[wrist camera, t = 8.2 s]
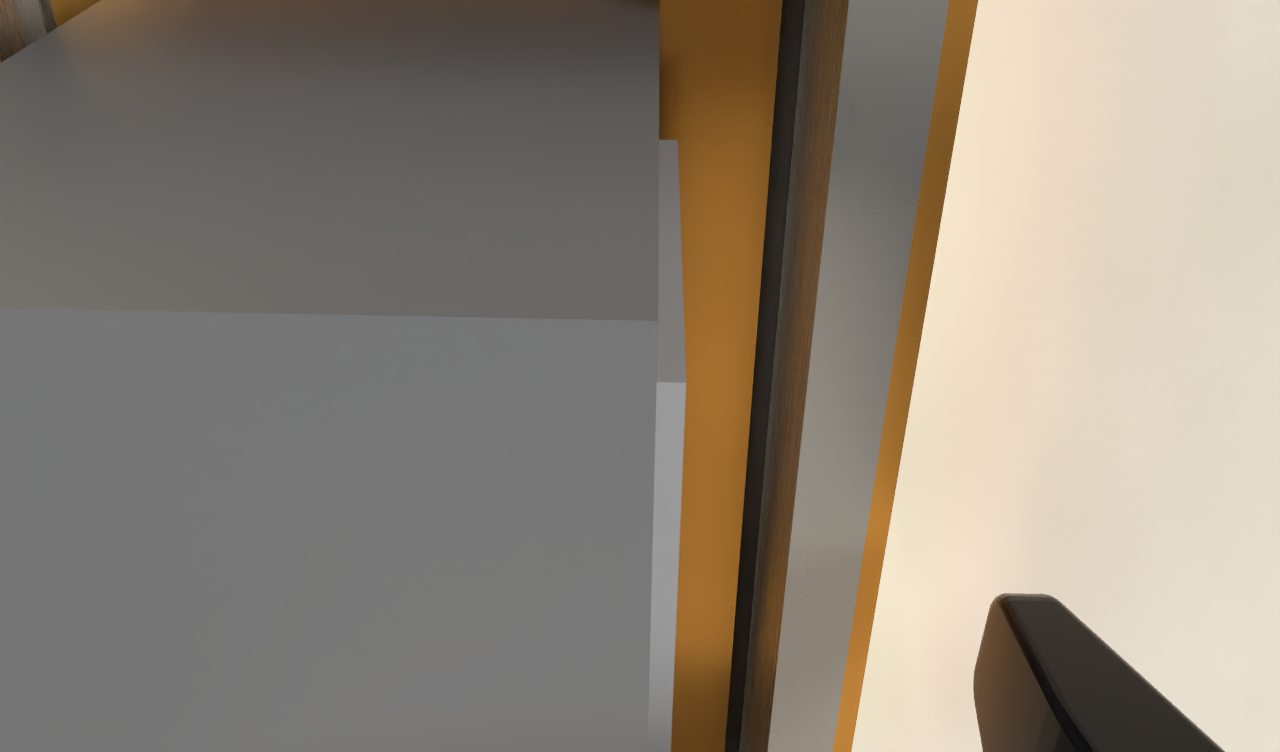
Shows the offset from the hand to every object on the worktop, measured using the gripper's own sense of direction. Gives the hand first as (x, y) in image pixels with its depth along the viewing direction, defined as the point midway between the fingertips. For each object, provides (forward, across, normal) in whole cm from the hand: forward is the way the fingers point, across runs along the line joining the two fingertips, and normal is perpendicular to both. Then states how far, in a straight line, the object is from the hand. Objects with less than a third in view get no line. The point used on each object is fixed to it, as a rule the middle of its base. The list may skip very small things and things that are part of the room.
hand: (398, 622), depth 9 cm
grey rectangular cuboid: (+3, 0, 0) cm, 3 cm away
